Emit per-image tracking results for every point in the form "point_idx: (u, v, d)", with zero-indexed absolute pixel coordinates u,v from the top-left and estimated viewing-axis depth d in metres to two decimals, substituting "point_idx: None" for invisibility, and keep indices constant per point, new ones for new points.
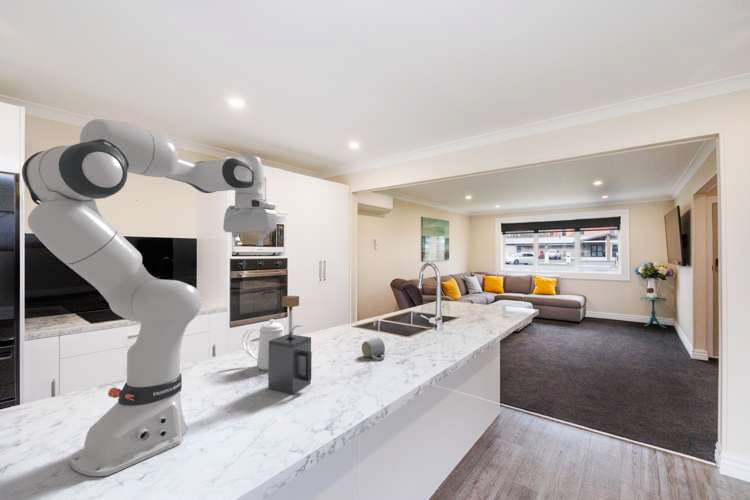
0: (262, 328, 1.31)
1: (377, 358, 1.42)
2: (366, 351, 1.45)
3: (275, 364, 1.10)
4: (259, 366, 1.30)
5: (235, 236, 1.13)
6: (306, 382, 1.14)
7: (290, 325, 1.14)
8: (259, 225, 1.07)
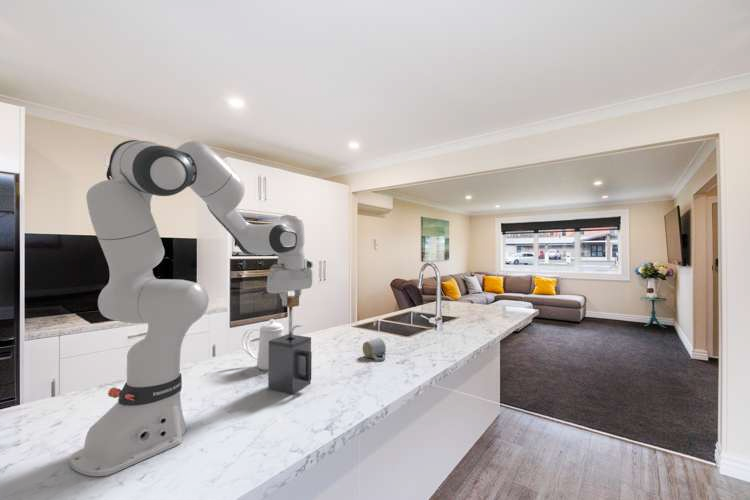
0: (262, 328, 1.31)
1: (378, 358, 1.41)
2: (367, 352, 1.44)
3: (275, 364, 1.10)
4: (259, 366, 1.30)
5: None
6: (306, 382, 1.14)
7: (290, 325, 1.14)
8: (306, 283, 1.19)
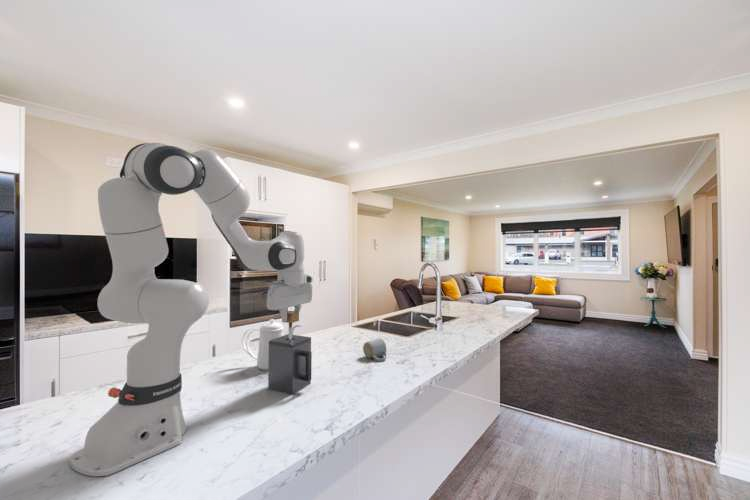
0: (262, 328, 1.31)
1: (379, 359, 1.41)
2: (368, 352, 1.44)
3: (275, 364, 1.10)
4: (259, 366, 1.30)
5: None
6: (306, 382, 1.14)
7: None
8: (306, 298, 1.19)
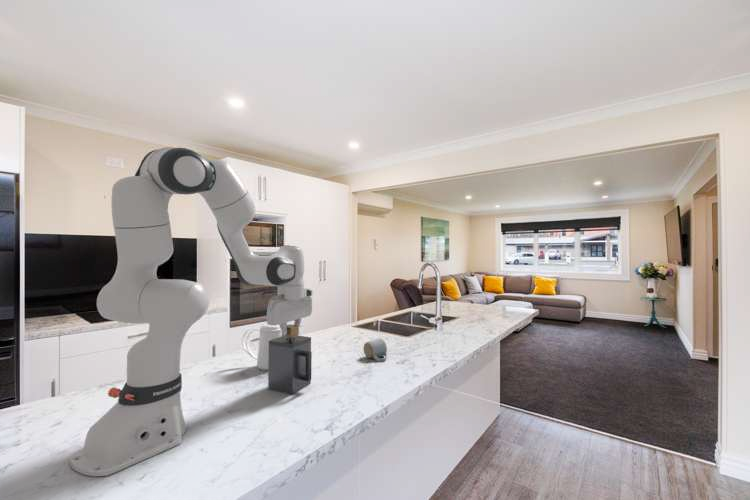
0: (262, 328, 1.31)
1: (379, 359, 1.41)
2: (368, 352, 1.44)
3: (275, 364, 1.10)
4: (259, 366, 1.30)
5: None
6: (306, 382, 1.14)
7: None
8: (306, 311, 1.19)
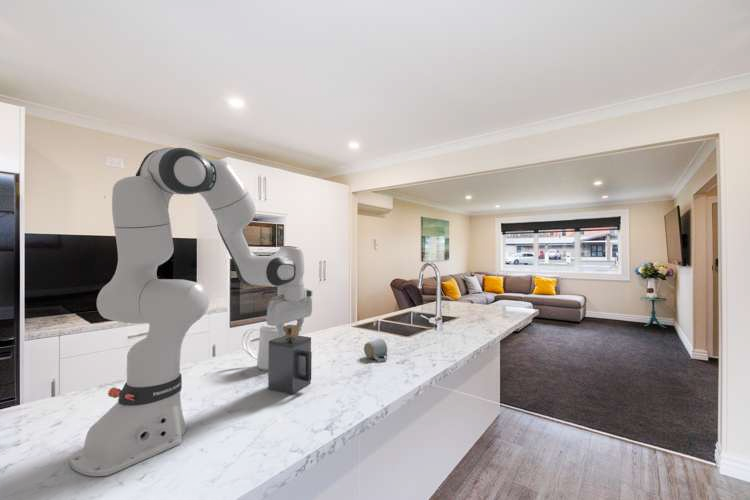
0: (262, 328, 1.31)
1: (380, 359, 1.40)
2: (369, 352, 1.43)
3: (275, 364, 1.10)
4: (259, 366, 1.30)
5: None
6: (306, 382, 1.14)
7: None
8: (305, 312, 1.19)
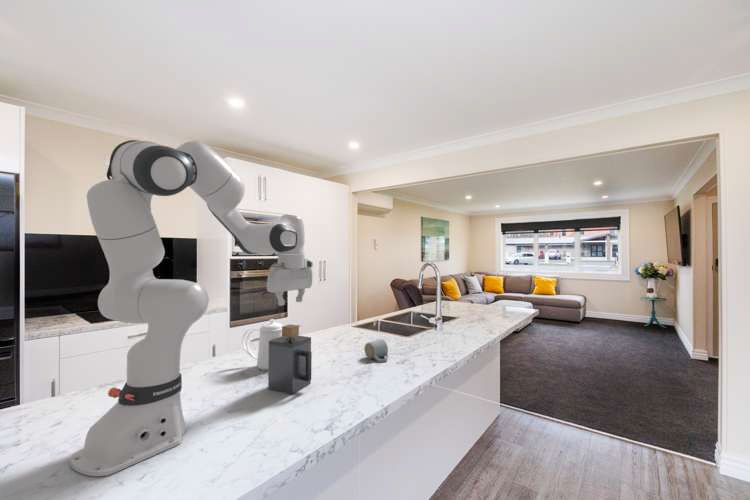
0: (262, 328, 1.31)
1: (380, 359, 1.40)
2: (369, 353, 1.43)
3: (275, 364, 1.10)
4: (259, 366, 1.30)
5: None
6: (306, 382, 1.14)
7: None
8: (306, 283, 1.19)
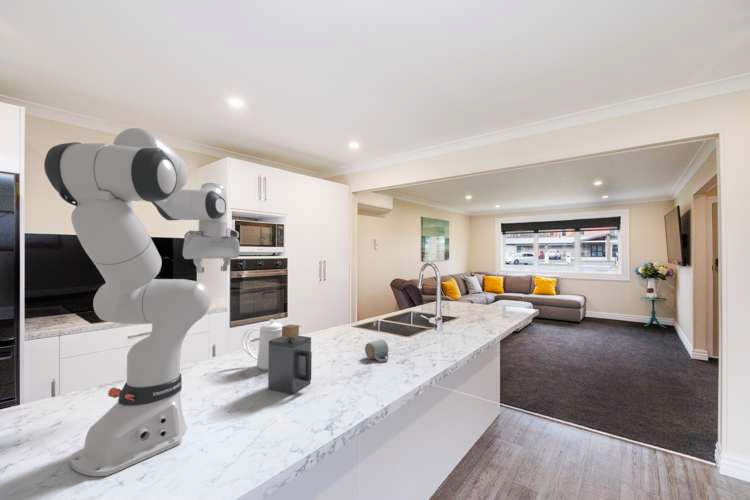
0: (262, 328, 1.31)
1: (381, 360, 1.40)
2: (370, 353, 1.43)
3: (275, 364, 1.10)
4: (259, 366, 1.30)
5: None
6: (306, 382, 1.14)
7: None
8: (231, 253, 1.20)
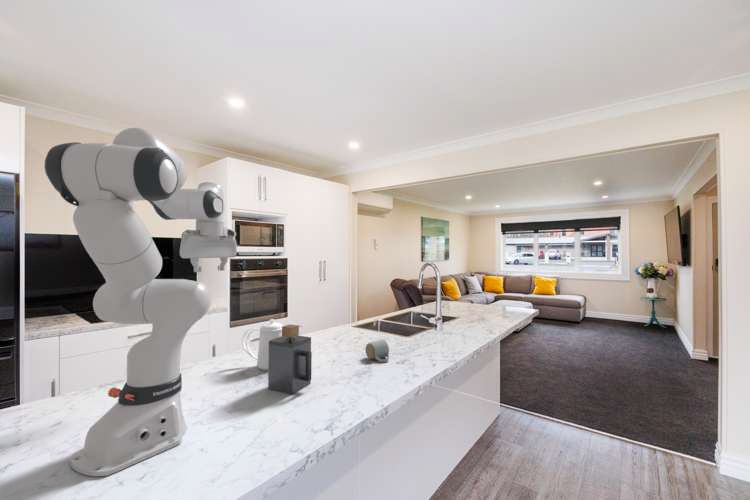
0: (262, 328, 1.31)
1: (381, 360, 1.39)
2: (370, 353, 1.42)
3: (275, 364, 1.10)
4: (259, 366, 1.30)
5: None
6: (306, 382, 1.14)
7: None
8: (228, 252, 1.20)
